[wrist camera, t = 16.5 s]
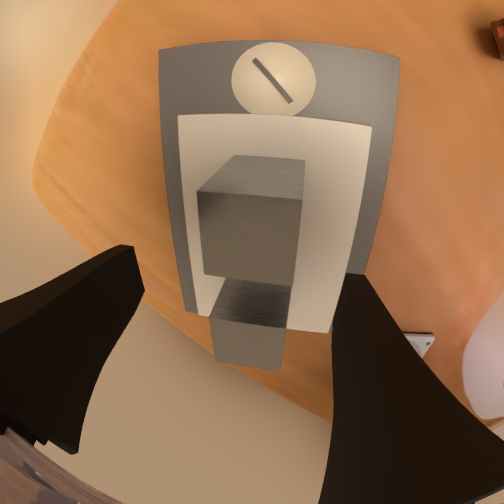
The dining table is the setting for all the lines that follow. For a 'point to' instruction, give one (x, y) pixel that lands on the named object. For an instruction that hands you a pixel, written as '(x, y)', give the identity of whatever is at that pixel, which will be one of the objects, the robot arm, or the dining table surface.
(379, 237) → the dining table surface
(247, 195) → the block
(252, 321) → the block
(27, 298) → the robot arm
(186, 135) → the scale
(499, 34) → the tin
